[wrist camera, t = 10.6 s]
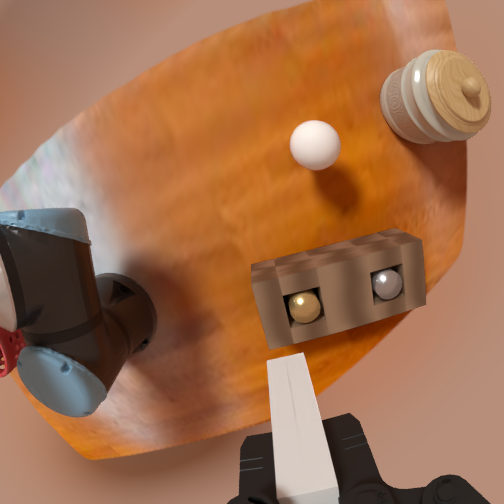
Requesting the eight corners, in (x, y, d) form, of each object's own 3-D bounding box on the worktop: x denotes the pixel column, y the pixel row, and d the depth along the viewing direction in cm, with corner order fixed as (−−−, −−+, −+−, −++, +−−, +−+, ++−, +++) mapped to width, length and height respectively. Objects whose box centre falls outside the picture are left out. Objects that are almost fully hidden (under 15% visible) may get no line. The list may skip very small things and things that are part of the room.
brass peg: (286, 304, 49) (292, 327, 41) (280, 278, 48) (285, 298, 40) (313, 297, 49) (324, 319, 41) (308, 271, 48) (318, 289, 40)
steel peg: (359, 284, 48) (376, 304, 41) (355, 259, 47) (373, 275, 40) (383, 277, 48) (404, 295, 40) (380, 252, 47) (402, 266, 39)
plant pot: (21, 289, 50) (-15, 312, 39) (48, 347, 53) (18, 377, 42) (-11, 301, 51) (-44, 322, 40) (14, 353, 54) (-14, 379, 43)
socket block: (266, 321, 51) (269, 349, 43) (251, 264, 49) (251, 284, 40) (401, 284, 50) (426, 304, 41) (395, 228, 48) (421, 239, 39)
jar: (374, 65, 41) (426, 24, 24) (439, 77, 41) (502, 52, 24) (380, 141, 44) (441, 130, 27) (445, 148, 44) (515, 145, 27)
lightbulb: (333, 155, 45) (357, 151, 34) (300, 178, 46) (314, 180, 35) (309, 120, 44) (326, 106, 33) (275, 144, 45) (282, 135, 34)
